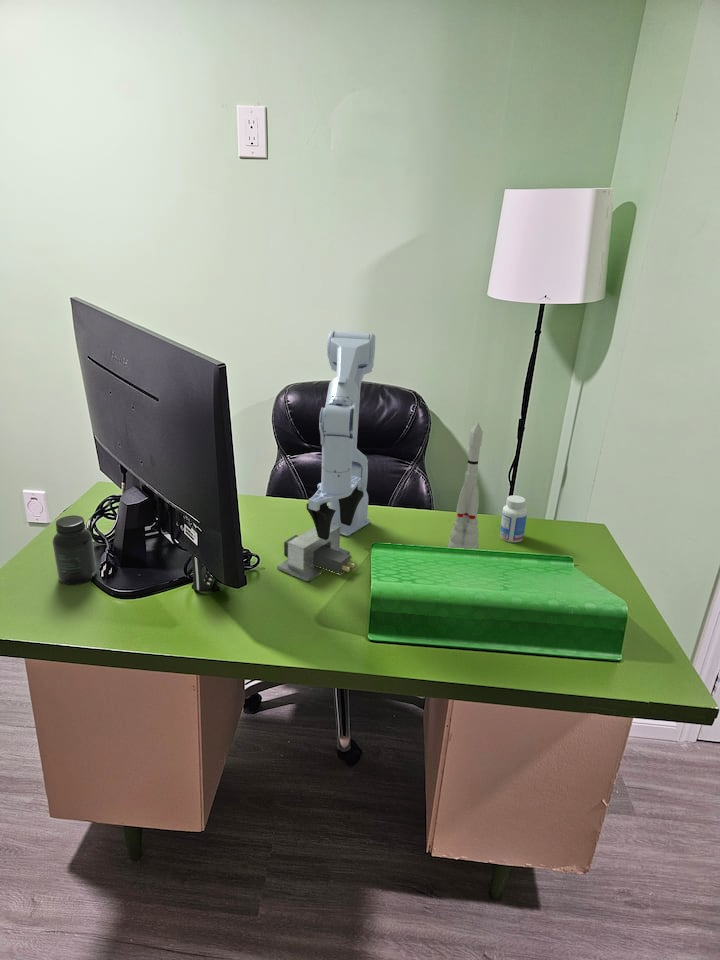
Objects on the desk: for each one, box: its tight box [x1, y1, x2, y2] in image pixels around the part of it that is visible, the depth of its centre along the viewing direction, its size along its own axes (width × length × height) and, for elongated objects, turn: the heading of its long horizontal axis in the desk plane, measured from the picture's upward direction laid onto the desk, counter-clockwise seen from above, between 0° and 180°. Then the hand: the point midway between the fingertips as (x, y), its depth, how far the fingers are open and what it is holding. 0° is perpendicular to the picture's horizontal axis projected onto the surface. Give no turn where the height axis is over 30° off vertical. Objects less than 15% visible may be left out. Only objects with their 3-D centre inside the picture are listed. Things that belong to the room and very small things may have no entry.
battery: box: [190, 554, 216, 591], centre depth 120 cm, size 7×4×11 cm, turn 177°
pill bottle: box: [499, 494, 528, 543], centre depth 143 cm, size 6×5×10 cm
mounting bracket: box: [276, 523, 351, 582], centre depth 130 cm, size 14×8×6 cm, turn 145°
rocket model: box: [447, 422, 484, 550], centre depth 130 cm, size 7×7×30 cm
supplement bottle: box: [52, 514, 97, 586], centre depth 120 cm, size 7×7×12 cm
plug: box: [283, 534, 356, 575], centre depth 131 cm, size 4×16×3 cm, turn 58°
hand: (334, 530), depth 125 cm, fingers open, 7 cm apart
